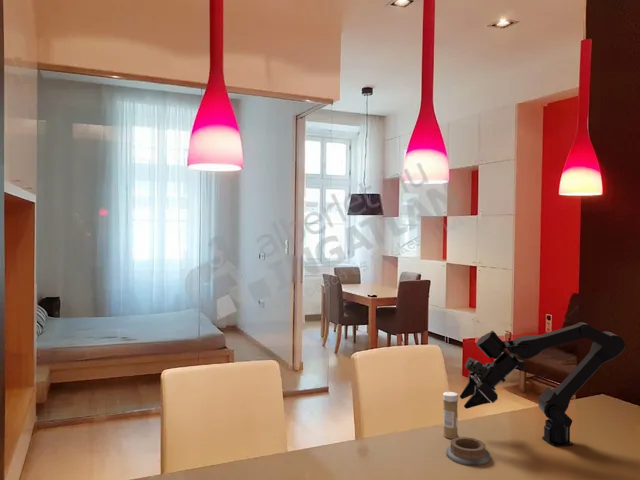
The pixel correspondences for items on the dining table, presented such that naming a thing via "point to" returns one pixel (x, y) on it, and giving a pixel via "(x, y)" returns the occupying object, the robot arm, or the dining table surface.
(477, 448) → the collar socket
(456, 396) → the sprinkles bottle
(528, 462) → the dining table surface
